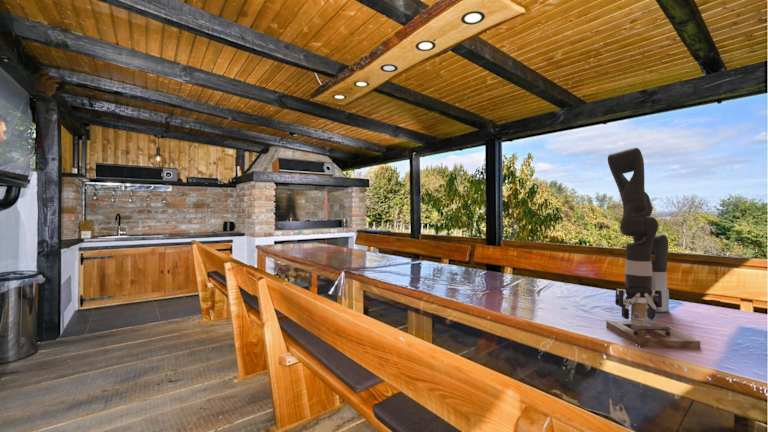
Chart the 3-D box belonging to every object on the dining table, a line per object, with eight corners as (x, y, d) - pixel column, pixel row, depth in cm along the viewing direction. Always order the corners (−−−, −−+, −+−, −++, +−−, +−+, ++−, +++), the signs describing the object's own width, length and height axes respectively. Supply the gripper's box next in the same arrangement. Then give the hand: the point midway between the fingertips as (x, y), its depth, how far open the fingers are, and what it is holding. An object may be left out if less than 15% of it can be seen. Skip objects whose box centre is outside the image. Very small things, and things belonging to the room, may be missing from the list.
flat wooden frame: (657, 328, 121) (657, 321, 121) (700, 348, 103) (700, 341, 103) (606, 327, 122) (606, 320, 122) (640, 347, 104) (640, 339, 104)
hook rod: (668, 334, 109) (668, 326, 109) (671, 335, 107) (671, 327, 107) (632, 333, 110) (632, 325, 110) (635, 334, 108) (635, 326, 108)
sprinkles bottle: (630, 334, 115) (630, 296, 115) (631, 330, 118) (631, 294, 118) (646, 337, 112) (646, 298, 112) (647, 333, 115) (647, 296, 115)
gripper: (652, 271, 118) (651, 315, 118) (610, 270, 119) (610, 315, 119) (668, 275, 110) (668, 322, 111) (624, 274, 112) (623, 322, 112)
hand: (638, 318), depth 115 cm, fingers open, 8 cm apart
